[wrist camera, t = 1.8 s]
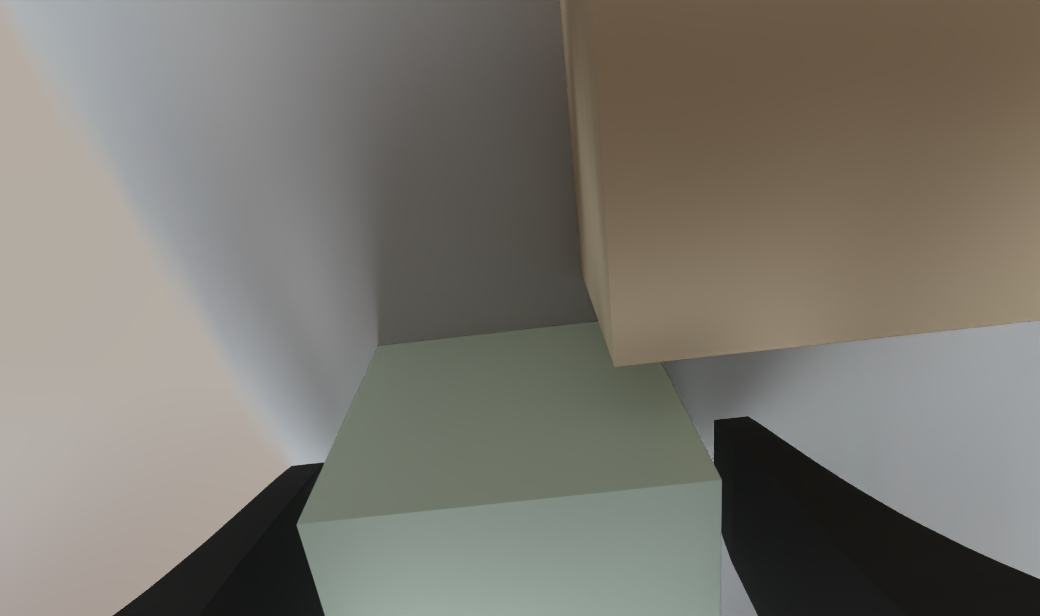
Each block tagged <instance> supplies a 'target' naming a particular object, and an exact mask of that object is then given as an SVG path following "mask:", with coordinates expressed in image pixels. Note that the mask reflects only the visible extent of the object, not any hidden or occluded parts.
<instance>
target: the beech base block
mask: <svg viewBox="0 0 1040 616" xmlns="http://www.w3.org/2000/svg"><path fill="white" fill-rule="evenodd" d="M560 10H561V22H562V35H563V47H564V60H565V72H566V85H567V97H568V110H569V122H570V134H571V147H572V159H573V172H574V184H575V197H576V209H577V222H578V234H579V247H580V259H581V272H582V276H583V279H584V281H585V284H586V287H587V290H588V293H589V296H590V299H591V301H592V304H593V307H594V310H595V313H596V316H597V319H598V321H599V324H600V327H601V330H602V333H603V336H604V339H605V341H606V344H607V347H608V350H609V353H610V356H611V359H612V361H613V364H614V367H619V366H628V365H637V364H646V363H655V362H664V361H674V360H683V359H692V358H701V357H710V356H719V355H728V354H737V353H747V352H756V351H765V350H774V349H783V348H792V347H801V346H810V345H820V344H829V343H838V342H847V341H856V340H865V339H874V338H883V337H893V336H902V335H911V334H920V333H929V332H938V331H947V330H957V329H966V328H975V327H984V326H993V325H1002V324H1011V323H1020V322H1030V321H1039V320H1040V0H560Z"/></svg>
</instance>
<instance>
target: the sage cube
mask: <svg viewBox="0 0 1040 616" xmlns="http://www.w3.org/2000/svg"><path fill="white" fill-rule="evenodd" d="M721 518H722V479H721V477H720V475H719V473H718V471H717V469H716V468H715V466H714V464H713V462H712V460H711V458H710V456H709V454H708V452H707V450H706V448H705V446H704V444H703V442H702V440H701V438H700V436H699V435H698V433H697V431H696V429H695V427H694V425H693V423H692V421H691V419H690V417H689V415H688V413H687V411H686V409H685V407H684V405H683V403H682V402H681V400H680V398H679V396H678V394H677V392H676V390H675V388H674V386H673V384H672V382H671V380H670V378H669V376H668V374H667V372H666V371H665V369H664V367H663V365H662V363H661V362H655V363H646V364H637V365H628V366H619V367H614V364H613V361H612V359H611V356H610V353H609V350H608V347H607V344H606V341H605V339H604V336H603V333H602V330H601V327H600V324H599V321H596V322H587V323H578V324H569V325H560V326H551V327H542V328H533V329H524V330H515V331H506V332H497V333H488V334H480V335H471V336H462V337H453V338H444V339H435V340H426V341H417V342H408V343H399V344H390V345H381V346H378V348H377V350H376V352H375V354H374V356H373V358H372V361H371V363H370V365H369V367H368V369H367V372H366V374H365V376H364V378H363V380H362V382H361V385H360V387H359V389H358V391H357V393H356V396H355V398H354V400H353V402H352V404H351V407H350V409H349V411H348V413H347V415H346V417H345V420H344V422H343V424H342V426H341V428H340V431H339V433H338V435H337V437H336V439H335V441H334V444H333V446H332V448H331V450H330V452H329V455H328V457H327V459H326V461H325V463H324V465H323V468H322V470H321V472H320V474H319V476H318V479H317V481H316V483H315V485H314V487H313V489H312V492H311V494H310V496H309V498H308V500H307V503H306V505H305V507H304V509H303V511H302V514H301V516H300V518H299V520H298V522H297V524H296V525H297V528H298V531H299V534H300V538H301V541H302V544H303V547H304V550H305V553H306V557H307V560H308V563H309V566H310V569H311V573H312V576H313V579H314V582H315V585H316V589H317V592H318V595H319V598H320V601H321V605H322V608H323V611H324V614H325V616H720V604H721Z"/></svg>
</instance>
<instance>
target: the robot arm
mask: <svg viewBox="0 0 1040 616" xmlns="http://www.w3.org/2000/svg"><path fill="white" fill-rule="evenodd" d="M323 465H324V463H316V464H306V465H297V466H291V467H290V468H289V469H287V470H286V471H285V472H283V473H282V474H281V475H280V476H279V477H277V478H276V479H275V480H274V481H273V482H272V483H271V484H270V485H268V487H266V488H265V489H264V490H263V491H262V492H261V493H259V494H258V495H257V496H256V497H255V498H254V499H253V500H252V501H251V502H250V503H248V504H247V505H246V506H245V507H244V508H243V509H242V510H241V511H240V512H238V513H237V514H236V515H235V516H234V517H233V518H232V519H231V520H229V521H228V522H227V523H226V524H225V525H224V526H223V527H222V528H221V529H219V530H218V531H217V532H216V533H215V534H214V535H213V536H211V537H210V538H209V539H208V540H207V541H206V542H205V543H203V544H202V545H201V546H200V547H199V548H197V549H196V550H195V551H194V552H193V553H191V554H190V555H189V556H188V557H187V558H185V559H184V560H183V561H182V562H181V563H179V564H178V565H177V566H176V567H175V568H173V569H172V570H171V571H170V572H169V573H167V574H166V575H165V576H164V577H163V578H161V579H160V580H159V581H158V582H156V583H155V584H154V585H153V586H151V587H150V588H149V589H148V590H146V591H145V592H144V593H142V594H141V595H140V596H139V597H138V598H136V599H135V600H133V601H132V602H131V603H129V604H128V605H127V606H125V607H124V608H123V609H121V610H120V611H119V612H117V613H116V614H115V615H113V616H325V614H324V611H323V608H322V605H321V601H320V598H319V595H318V592H317V589H316V585H315V582H314V579H313V576H312V573H311V569H310V566H309V563H308V560H307V557H306V553H305V550H304V547H303V544H302V541H301V538H300V534H299V531H298V528H297V525H296V524H297V522H298V520H299V518H300V516H301V514H302V511H303V509H304V507H305V505H306V503H307V500H308V498H309V496H310V494H311V492H312V489H313V487H314V485H315V483H316V481H317V479H318V476H319V474H320V472H321V470H322V468H323ZM714 466H715V468H716V469H717V471H718V473H719V475H720V477H721V479H722V518H721V533H722V536H723V539H724V542H725V545H726V547H727V550H728V553H729V556H730V558H731V561H732V563H733V565H734V567H735V570H736V572H737V574H738V576H739V578H740V580H741V582H742V584H743V586H744V588H745V590H746V592H747V594H748V596H749V598H750V600H751V602H752V604H753V606H754V608H755V610H756V612H757V614H758V616H1040V579H1038V578H1036V577H1033V576H1031V575H1028V574H1026V573H1024V572H1021V571H1019V570H1017V569H1014V568H1012V567H1009V566H1007V565H1005V564H1002V563H1000V562H998V561H995V560H993V559H991V558H989V557H987V556H984V555H982V554H980V553H978V552H976V551H973V550H971V549H969V548H967V547H965V546H963V545H961V544H959V543H957V542H955V541H953V540H951V539H949V538H947V537H945V536H943V535H941V534H939V533H937V532H935V531H933V530H931V529H929V528H927V527H925V526H923V525H921V524H919V523H917V522H915V521H913V520H911V519H910V518H908V517H906V516H904V515H902V514H900V513H898V512H897V511H895V510H893V509H892V508H890V507H888V506H886V505H885V504H883V503H881V502H879V501H878V500H876V499H874V498H873V497H871V496H869V495H867V494H866V493H864V492H862V491H861V490H859V489H857V488H856V487H854V486H852V485H851V484H849V483H848V482H846V481H844V480H843V479H841V478H840V477H838V476H836V475H835V474H833V473H832V472H830V471H829V470H827V469H826V468H824V467H823V466H821V465H820V464H818V463H816V462H815V461H813V460H812V459H810V458H809V457H808V456H806V455H805V454H803V453H802V452H800V451H799V450H797V449H796V448H794V447H793V446H791V445H790V444H788V443H787V442H785V441H784V440H783V439H781V438H780V437H778V436H777V435H775V434H774V433H772V432H771V431H769V430H768V429H767V428H765V427H764V426H762V425H761V424H759V423H758V422H756V421H754V420H753V419H751V418H750V417H748V416H747V417H738V418H729V419H720V420H714Z"/></svg>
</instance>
